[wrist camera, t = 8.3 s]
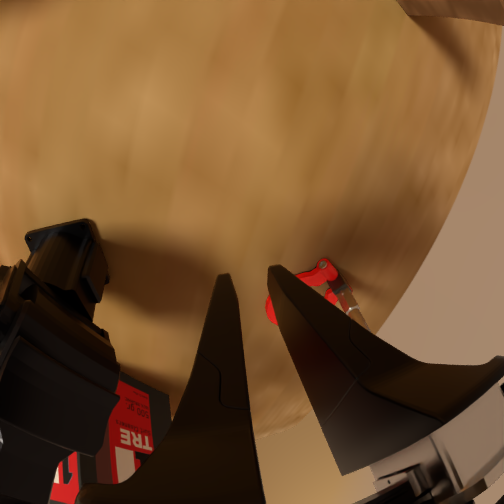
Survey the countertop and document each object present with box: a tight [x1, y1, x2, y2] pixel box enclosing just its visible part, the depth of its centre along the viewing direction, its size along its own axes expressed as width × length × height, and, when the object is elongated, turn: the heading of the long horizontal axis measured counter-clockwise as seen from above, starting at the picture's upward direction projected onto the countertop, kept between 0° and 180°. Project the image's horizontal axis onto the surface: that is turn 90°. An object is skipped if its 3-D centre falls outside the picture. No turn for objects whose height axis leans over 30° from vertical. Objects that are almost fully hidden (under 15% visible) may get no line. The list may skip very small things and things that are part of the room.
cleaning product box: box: [49, 371, 172, 504], centre depth 26 cm, size 16×9×20 cm, turn 26°
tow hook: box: [265, 259, 371, 332], centre depth 26 cm, size 8×13×9 cm
